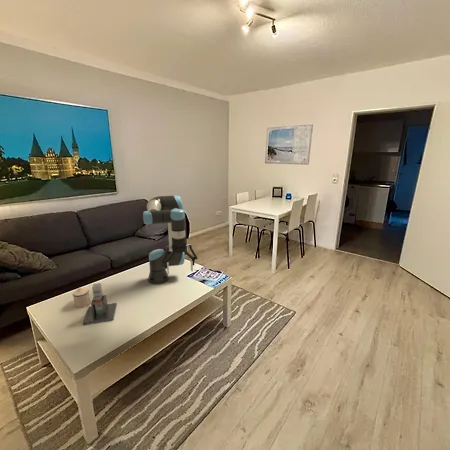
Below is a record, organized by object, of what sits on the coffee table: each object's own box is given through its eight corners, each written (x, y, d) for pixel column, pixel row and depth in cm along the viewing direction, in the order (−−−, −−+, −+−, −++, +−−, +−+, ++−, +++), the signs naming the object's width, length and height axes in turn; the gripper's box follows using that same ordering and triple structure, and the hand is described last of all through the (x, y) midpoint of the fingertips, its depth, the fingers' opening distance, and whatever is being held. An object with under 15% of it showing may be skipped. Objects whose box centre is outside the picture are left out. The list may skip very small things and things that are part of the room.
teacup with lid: (93, 303, 161) (90, 287, 158) (78, 310, 154) (75, 293, 151) (85, 297, 168) (82, 281, 165) (70, 303, 161) (67, 287, 158)
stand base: (89, 308, 155) (86, 293, 152) (116, 304, 160) (114, 290, 157) (82, 325, 140) (80, 308, 138) (113, 320, 145) (111, 304, 142)
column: (97, 310, 151) (93, 284, 146) (104, 309, 152) (101, 283, 147) (96, 315, 146) (91, 288, 142) (103, 314, 148) (99, 287, 143)
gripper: (155, 241, 131) (158, 277, 137) (202, 237, 138) (202, 271, 144) (155, 237, 138) (157, 271, 144) (199, 233, 145) (200, 266, 151)
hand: (180, 271), depth 144 cm, fingers open, 13 cm apart
